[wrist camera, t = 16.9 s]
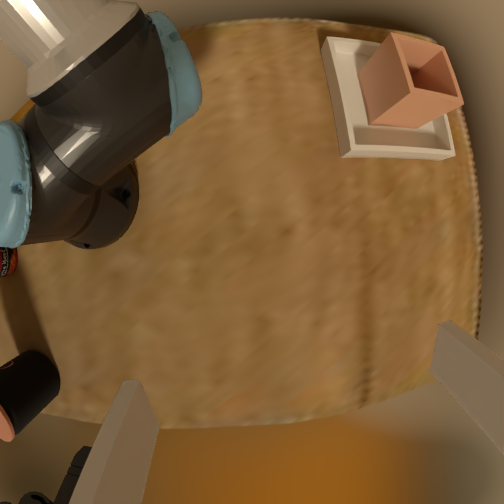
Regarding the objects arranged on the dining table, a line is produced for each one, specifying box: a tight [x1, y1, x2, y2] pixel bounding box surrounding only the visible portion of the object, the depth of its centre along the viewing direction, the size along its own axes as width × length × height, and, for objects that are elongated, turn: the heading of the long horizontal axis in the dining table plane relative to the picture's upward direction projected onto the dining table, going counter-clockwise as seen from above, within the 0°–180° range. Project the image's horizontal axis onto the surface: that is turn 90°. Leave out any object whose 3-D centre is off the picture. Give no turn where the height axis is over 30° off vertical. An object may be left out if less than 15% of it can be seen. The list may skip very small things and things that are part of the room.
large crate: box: [320, 36, 455, 160], centre depth 36 cm, size 19×19×4 cm
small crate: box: [357, 32, 464, 129], centre depth 31 cm, size 9×9×13 cm
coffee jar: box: [0, 350, 60, 442], centre depth 33 cm, size 11×11×18 cm
